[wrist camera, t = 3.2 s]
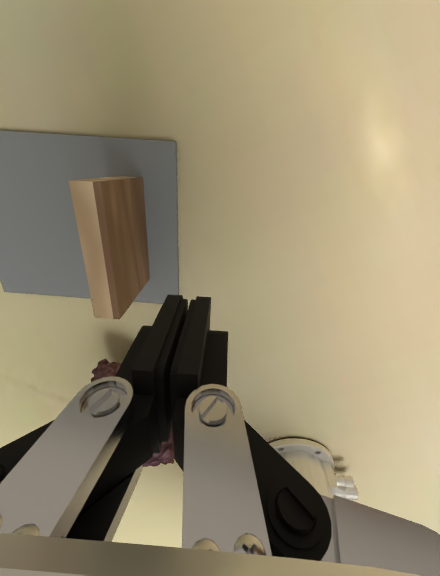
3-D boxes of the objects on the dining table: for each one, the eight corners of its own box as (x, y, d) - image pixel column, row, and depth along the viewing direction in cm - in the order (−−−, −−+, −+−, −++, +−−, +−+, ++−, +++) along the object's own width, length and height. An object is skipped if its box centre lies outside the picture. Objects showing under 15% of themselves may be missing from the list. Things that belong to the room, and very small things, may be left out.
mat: (176, 141, 22) (175, 141, 21) (179, 302, 29) (178, 305, 28) (-49, 127, 22) (-55, 127, 22) (8, 289, 29) (4, 291, 29)
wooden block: (142, 177, 23) (100, 182, 15) (150, 278, 27) (119, 319, 20) (120, 176, 23) (68, 180, 15) (131, 277, 27) (94, 317, 20)
